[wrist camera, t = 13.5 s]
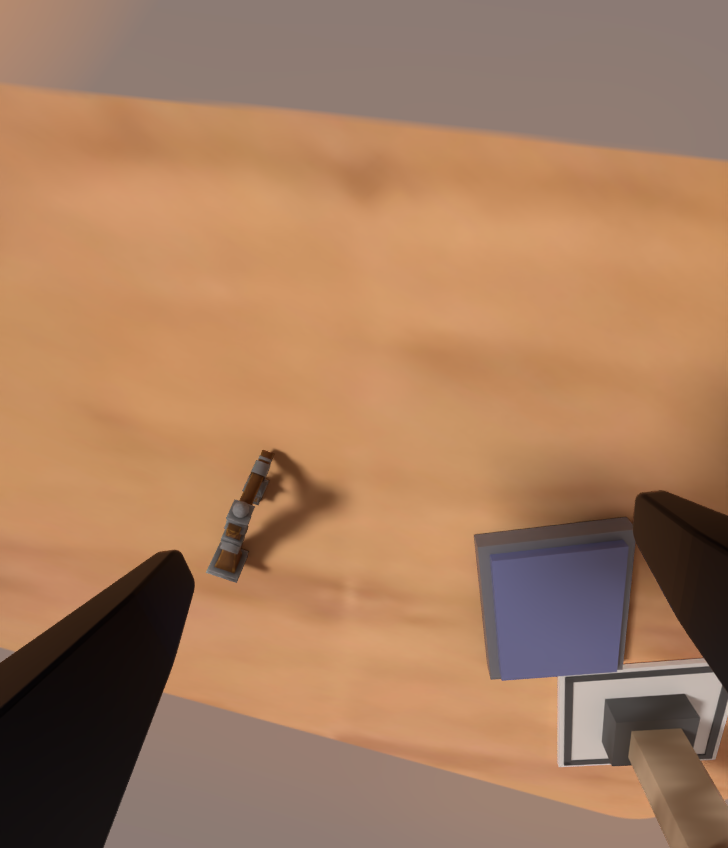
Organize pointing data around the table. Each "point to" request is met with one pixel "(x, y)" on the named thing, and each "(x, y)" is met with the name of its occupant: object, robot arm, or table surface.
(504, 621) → the ink pad
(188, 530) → the table surface
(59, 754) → the robot arm
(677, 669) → the marked card
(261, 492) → the wooden post with brackets
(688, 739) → the stamp
